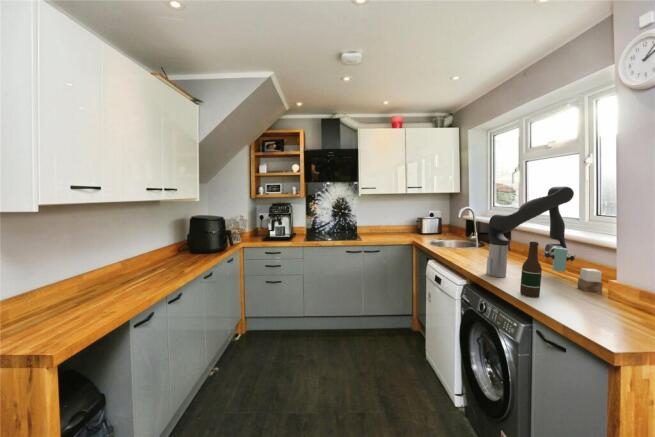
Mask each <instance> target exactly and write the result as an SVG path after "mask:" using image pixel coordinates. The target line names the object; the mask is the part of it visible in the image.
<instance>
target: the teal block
mask: <svg viewBox="0 0 655 437" xmlns="http://www.w3.org/2000/svg"><path fill="white" fill-rule="evenodd" d="M567 254H568V248H567V249H566V248H557V247H555V249H554V255H555V257H554V259H552V271H554V272H555V271H556V272H561V273H566V266H567V261H566V259H567Z"/></svg>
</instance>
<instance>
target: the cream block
mask: <svg viewBox="0 0 655 437" xmlns="http://www.w3.org/2000/svg"><path fill="white" fill-rule="evenodd" d="M602 273H603V271H601V270H599V269H596V268H589V267H588V268H585V267H581V268H580V274H579V278H581V279H583V280H585V281H591V282H602V275H603V274H602Z"/></svg>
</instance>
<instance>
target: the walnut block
mask: <svg viewBox="0 0 655 437" xmlns="http://www.w3.org/2000/svg"><path fill="white" fill-rule="evenodd" d="M603 285H604V283H603V282H602V281H601V282H591V281H585V280H583V279H581V278H580V277H578V278H577V287H578V288H577V289H579V288H580V290H581V291H583V292H585V293H587V292H588V293H596V292H600V293H599V294H602V293H603V287H604V286H603Z"/></svg>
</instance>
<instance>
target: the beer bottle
mask: <svg viewBox="0 0 655 437" xmlns="http://www.w3.org/2000/svg"><path fill="white" fill-rule="evenodd" d="M528 244H529V248H528V255H527V258H526V260H525V261H524V262H523V263H522V267H521V275H520V276H521V278H520V285H519V286H520V288H519V290H520V291H519V292H520V296H521V295H522V296H523V295H524V297H527V298H534V299H535V298H540V294H541V283H542V265H541V264H540V263H541V262H540V261H539V256H538V255H539V253H538V252H539V250H538V249H539V245H540V244H539V242H538V241H529V243H528Z"/></svg>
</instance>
